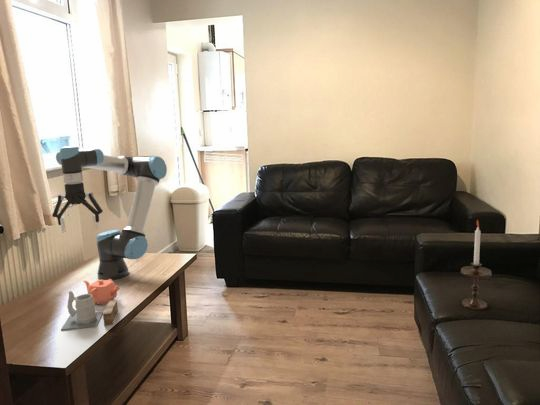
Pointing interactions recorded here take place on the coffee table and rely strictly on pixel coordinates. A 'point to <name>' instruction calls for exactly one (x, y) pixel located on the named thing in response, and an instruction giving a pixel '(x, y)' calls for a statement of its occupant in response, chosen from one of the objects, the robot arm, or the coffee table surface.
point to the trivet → (74, 324)
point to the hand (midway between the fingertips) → (80, 230)
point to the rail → (110, 313)
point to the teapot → (102, 291)
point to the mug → (82, 308)
